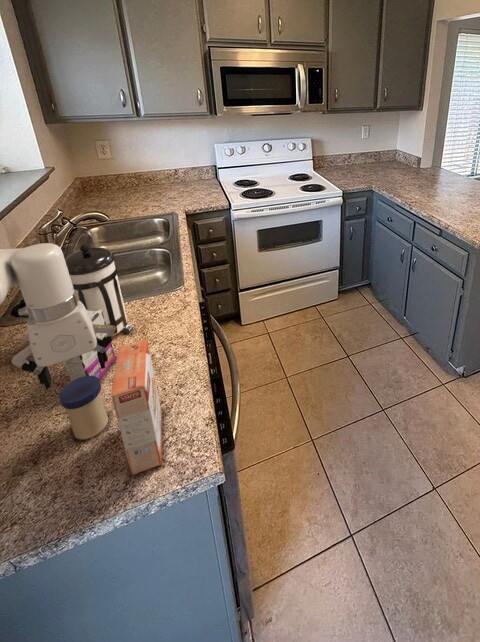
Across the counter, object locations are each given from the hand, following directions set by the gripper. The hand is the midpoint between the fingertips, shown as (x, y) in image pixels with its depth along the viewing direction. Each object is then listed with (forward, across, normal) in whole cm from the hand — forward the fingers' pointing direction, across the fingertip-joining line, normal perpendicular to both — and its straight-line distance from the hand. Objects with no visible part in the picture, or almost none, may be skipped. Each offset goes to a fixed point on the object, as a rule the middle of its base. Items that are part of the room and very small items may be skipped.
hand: (77, 373), depth 75 cm
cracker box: (+15, +10, -11) cm, 21 cm away
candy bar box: (+15, 0, +17) cm, 23 cm away
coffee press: (+15, +4, +33) cm, 37 cm away
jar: (+15, 0, 0) cm, 15 cm away
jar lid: (+4, 0, 0) cm, 4 cm away
